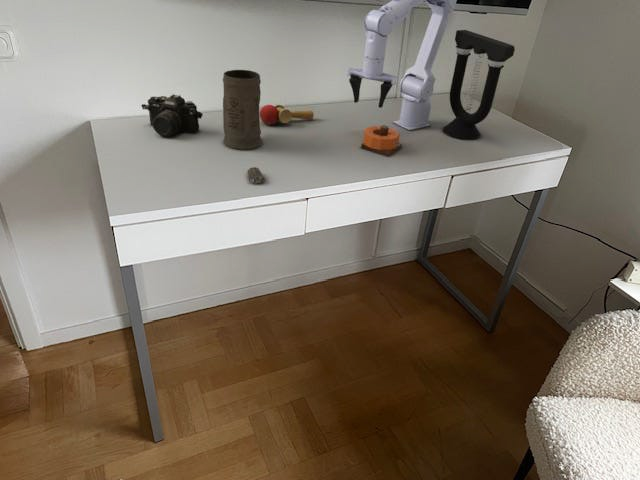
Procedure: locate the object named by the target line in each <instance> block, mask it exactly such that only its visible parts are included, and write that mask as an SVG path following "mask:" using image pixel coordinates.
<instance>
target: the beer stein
mask: <svg viewBox="0 0 640 480" xmlns="http://www.w3.org/2000/svg"><path fill="white" fill-rule="evenodd" d="M222 83H223V96H222V119H223V120H222V122H223V123H222V124H223V126H222V127H223V133H224V136H223V144H224V145H225V146H226V147H228V148H230V149H233V150H242V151H243V150H246V151H247V150H252V149H256V148H258V147H260V146H261V145H262V137H261V134H262V129H261V124H260V123H261V121H260V120H261V118H260V103H261V83H262V81H261V75H260V74H259V72H257V71H254V70H249V69H232V70H231V69H230V70H226V71H224V72H223V76H222Z"/></svg>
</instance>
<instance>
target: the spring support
mask: <svg viewBox="0 0 640 480" xmlns="http://www.w3.org/2000/svg"><path fill="white" fill-rule="evenodd" d="M454 41H455V44H456V46H455V49H456V60H455V64H454V69H453V74H452V78H451V79H452V80H451V85H450V88H449V104H450V109H451V112H452V113H453V115H454V116H455V118H454V119H453V120H451V121H450V122H449V123H447V125H445V126H444V127H443V128H442V132H443V134H445V135H446V136H448V137H450V138H453V139H458V140H463V141H472V140H477V139H479V138H480V137H481V133H480V131H479V129H478V127H477V125H478V124H479V123H481V122H483V121H484V120H485V119H486V118H487V117H488V116H489V114H490V112H491V110H492V107H493V103H494V98H495V95H496V91H497V87H498V83H499V79H500V76H501V72H502V69H503V68H504V67H505V65H504V64H505V63H506V61H508V60H509V59H511V58H512V57H513V56H514V53H515V51H516V50H515V49H516V48H515V45H513V44H510V43H507V42H504V41H501V40H498V39H495V38H491V37H489V36H486V35H482V34H480V33H476V32H474V31H471V30H468V29H458V30H456V31H455V36H454ZM471 51H473V53H474V54H475V55H478V58H476V59H475V62H474V66H473V71H472V75H471V80H470V83H469V88H468V91H467V92H468V93H467V96H466V98H467V99H466V101H465V105H464V107H463V104H462V97H461V95H462V94H461V92H462V88H463V83H464V80H465V79H464V78H465V75H466V70H467V64H468V60H469V57H470V56H471ZM485 54H486V56H487V66H488V70H487V75H486V79H485V82H484V88H483V91H482V94H481V95H482V96H481V100H480V103H479V106H478V108H477V110H476V111H475V112H473V113H470V112H469V111H471V109H472V107H471V106H473V104H472V103H473V101H474V98H475V96H474V95H475V93H476V89H477V88H476V87H477V84H478V79H479V76H480V72H481V67H482V65H481V64H482V63H483V62H482V61H479V60H480V59H482V58H483V57H484V55H485Z"/></svg>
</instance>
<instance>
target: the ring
mask: <svg viewBox="0 0 640 480" xmlns="http://www.w3.org/2000/svg"><path fill="white" fill-rule="evenodd" d="M380 126H381V125H372V126H368V127H366V128H365V129H364V130H363V135H362V143H364V145H366V146H368V147H370V148H373V149H378V150H391V149H395V148H396V147H397V145H398V143H399V139H400V133H399V132H398V131H397V130H396V129H393V128H392V127H389V129H388V135H387V136H380V135H379V133H380Z"/></svg>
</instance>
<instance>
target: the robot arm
mask: <svg viewBox="0 0 640 480" xmlns="http://www.w3.org/2000/svg"><path fill="white" fill-rule="evenodd" d="M457 1H458V0H391V1H389V2H388V3H386V4H384V5H382V6H380V8H379V9H372V10H370V11H369V12H368V13H367V14H366V16H365V19H364V20H363V28H364V31H365V38H366V39H365V49H364V57H363V66H362V68H353V67H349V68H348V69H347V75H346V76H347V77H350V78H349V79H348V82H349V84H350V87H351V90H352V95H353V102H354V103H355V104H357V103H358V102H359V101H360V94H361V93H360V92H361V91H360V90H361V85H362V81H363V80H364V79H366V80H370V81H375V82H381V84H380V96H379V101H378V108H380V109H382V108H383V106H384V104H385V100H386V98H387V95H388V93H389V92H390V91H391V89H392V87H393V86H395V85H397V82H398V76H396V75H392V74H389V73H386V72H384V65H385V58H386V49H387V43H388V37H389V35H391V33H392V32H393V30H394V28H395V27H396V25H397V24H398V23H400V22H401V21H402V20H404V19H405V18H407V17H408V16H409V15H410V12H411V9H413V8H414V7H417V6H418V5H420V4H421V3H423V2H425V3H426V4H427V6H428V8H430V10H431V13H432V14H431V16H430V20H429V22H428V25H427V28H426V31H425V34H424V36H423V39H422V43H421V46H420V49H419V52H418V54H417V57H416V60H415V63H414V65H413V66H411V67H408V68H407V69H406V71H405V74H404V75H403V76H402V78H401V80H400V82H399V92H400V93H401V97H402V103H401V109H400V115H399V119H397V120H394V121H393V123H394V124H395V125H397V126H399V127H402V128H403V129H405V130H408V131H413V130H418V129H422V128H426V127H430V124H429V118H430V114H431V108H432V104H431V100H430V98H431V97H432V95H433V93H434V88H435V87H434V85H435V82H436V77H435V75H434V74H433V72H432V68H433V65H434V62H435V60H436V57H437V54H438V51H439V49H440V46H441V43H442V41H443V40H442V39H443V37H444V34H445V33H446V32H445V31H446V29H447V27H448V23H449V21H450V18H451V15H452V13H453V12H454V9H455V7H456V4H457Z"/></svg>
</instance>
